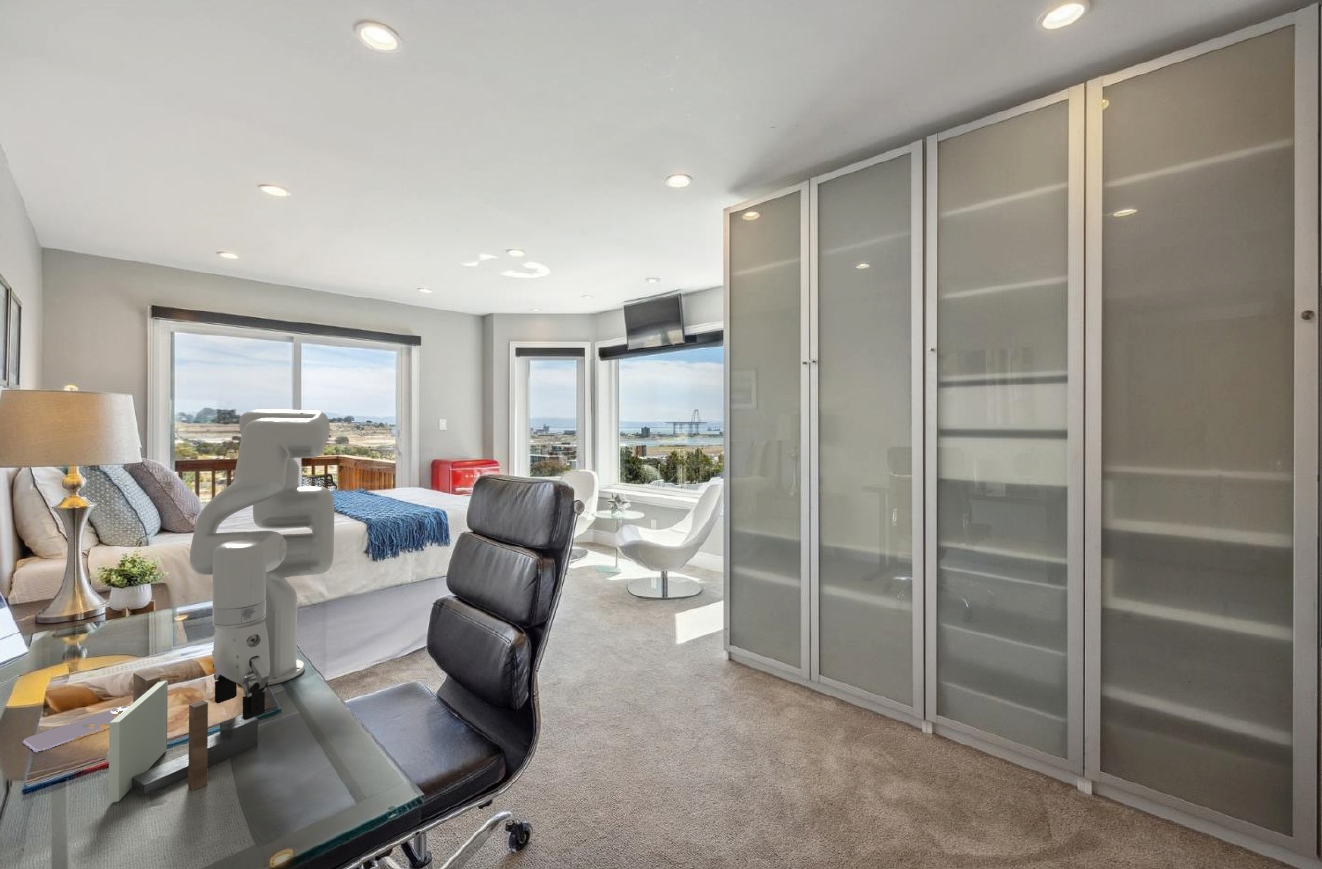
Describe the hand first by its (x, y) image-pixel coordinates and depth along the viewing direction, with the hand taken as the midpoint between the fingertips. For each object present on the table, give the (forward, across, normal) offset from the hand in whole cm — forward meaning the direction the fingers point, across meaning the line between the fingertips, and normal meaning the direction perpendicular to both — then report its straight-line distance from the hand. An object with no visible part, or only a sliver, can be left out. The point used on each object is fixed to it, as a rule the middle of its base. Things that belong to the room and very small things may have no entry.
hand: (239, 707), depth 101 cm
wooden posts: (+7, +4, +9) cm, 12 cm away
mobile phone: (+8, +30, +12) cm, 33 cm away
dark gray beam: (+7, -1, +6) cm, 9 cm away
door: (+7, +4, +13) cm, 15 cm away
